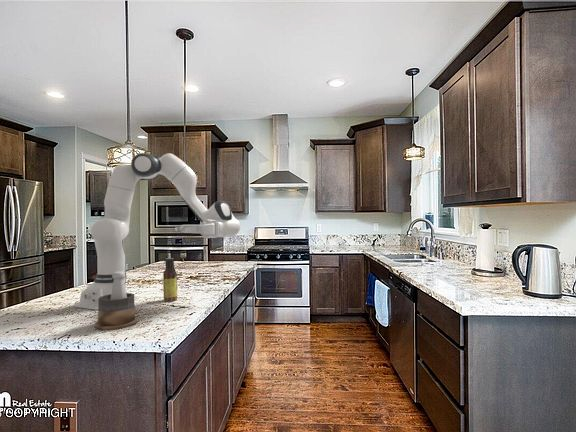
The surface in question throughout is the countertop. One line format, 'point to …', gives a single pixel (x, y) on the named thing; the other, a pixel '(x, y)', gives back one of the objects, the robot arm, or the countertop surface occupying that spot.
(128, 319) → the brown pot
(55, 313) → the countertop surface
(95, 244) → the robot arm
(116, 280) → the salt shaker
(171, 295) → the sauce bottle
